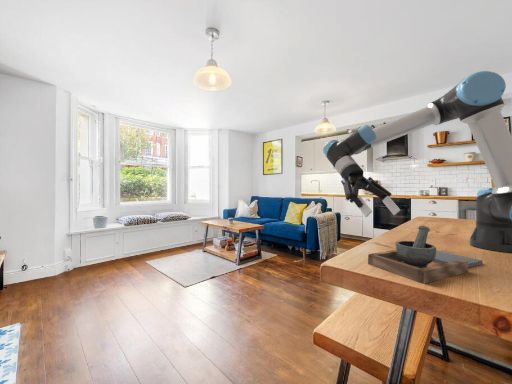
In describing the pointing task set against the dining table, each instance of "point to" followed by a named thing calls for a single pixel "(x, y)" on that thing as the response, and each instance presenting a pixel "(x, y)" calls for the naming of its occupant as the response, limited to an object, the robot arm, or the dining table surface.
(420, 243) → the mortar and pestle
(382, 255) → the rectangular wooden frame
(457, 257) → the slate mat
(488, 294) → the dining table surface
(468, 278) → the dining table surface
